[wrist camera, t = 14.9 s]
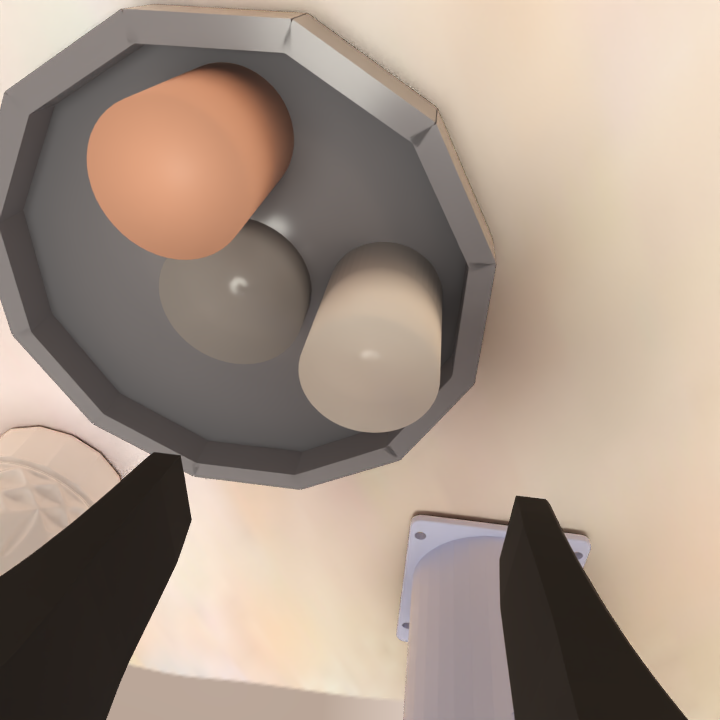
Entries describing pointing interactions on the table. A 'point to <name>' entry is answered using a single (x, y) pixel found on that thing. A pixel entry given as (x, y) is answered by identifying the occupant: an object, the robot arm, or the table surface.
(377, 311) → the bead cream
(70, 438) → the white cup
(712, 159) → the table surface
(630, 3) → the table surface
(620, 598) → the table surface
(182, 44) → the groove tray
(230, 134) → the bead terracotta
